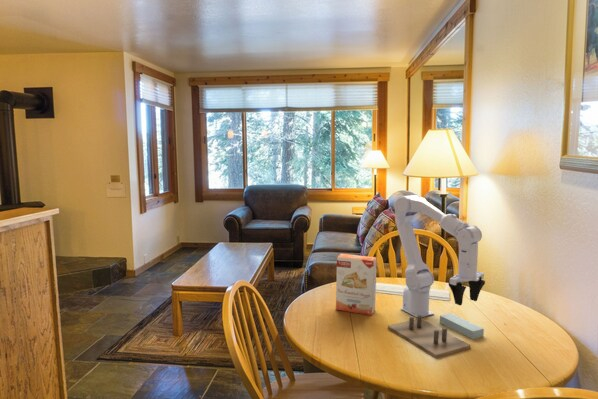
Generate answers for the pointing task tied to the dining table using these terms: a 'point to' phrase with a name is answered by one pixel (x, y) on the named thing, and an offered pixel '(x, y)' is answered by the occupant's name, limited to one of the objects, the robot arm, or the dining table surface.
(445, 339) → the brown slab
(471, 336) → the pale grey block
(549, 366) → the dining table surface
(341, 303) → the cracker box
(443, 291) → the baseboard molding
